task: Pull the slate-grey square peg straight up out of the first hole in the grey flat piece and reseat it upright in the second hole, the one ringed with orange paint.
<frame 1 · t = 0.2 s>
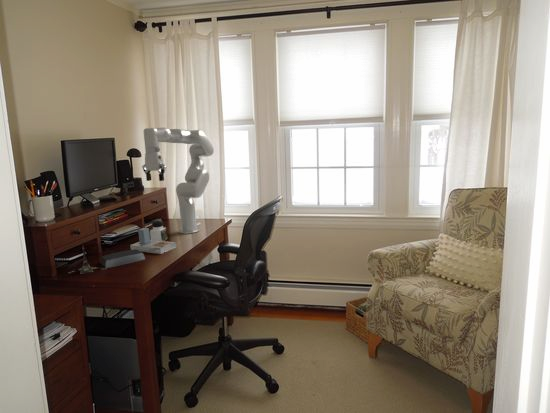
hand: (155, 180, 229), 36 cm above the table, tool pointing down, fingers open, 9 cm apart
peg: (145, 248, 224), resting in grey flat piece
eiffel tower figurine: (87, 272, 190), on the table
external hard drive: (123, 262, 202), on the table
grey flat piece: (153, 248, 221), on the table
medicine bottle: (159, 240, 239), on the table
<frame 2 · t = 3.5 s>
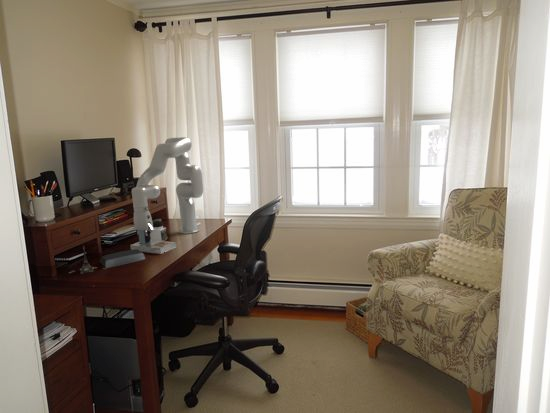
hand: (144, 241, 223), 4 cm above the table, tool pointing down, fingers closed on peg, 4 cm apart
peg: (145, 248, 224), resting in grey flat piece, touching gripper
everything else where it was.
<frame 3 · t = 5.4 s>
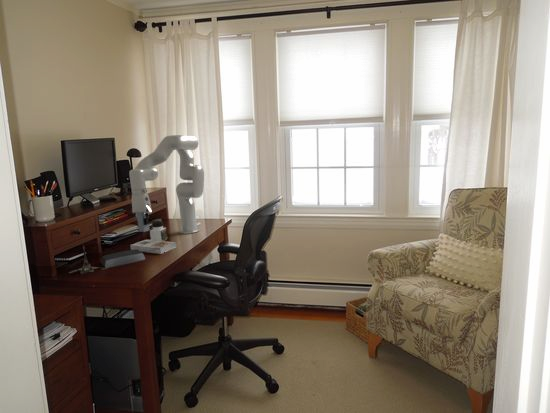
hand: (143, 224, 222), 14 cm above the table, tool pointing down, fingers closed on peg, 4 cm apart
peg: (144, 230, 223), point 10 cm above the table, touching gripper
everything else where it was.
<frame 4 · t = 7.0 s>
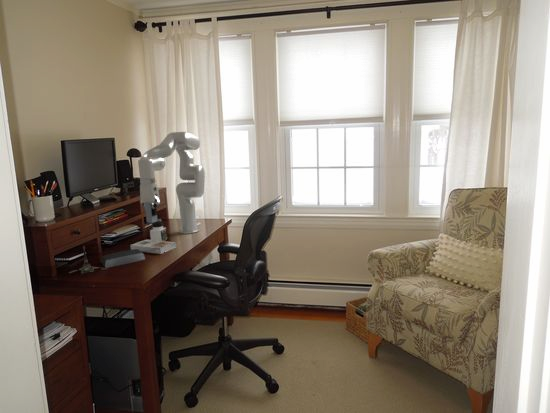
hand: (151, 214, 217), 19 cm above the table, tool pointing down, fingers closed on peg, 4 cm apart
peg: (152, 221, 218), point 16 cm above the table, touching gripper
everything else where it was.
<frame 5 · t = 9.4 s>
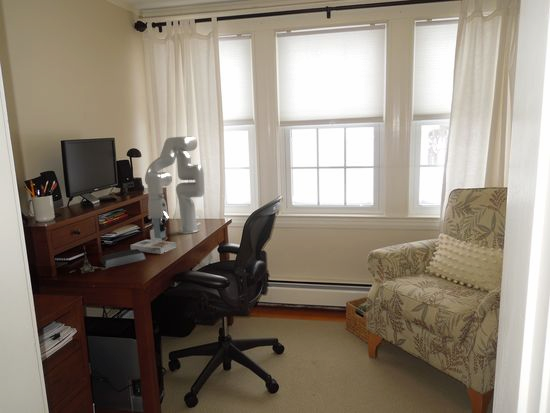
hand: (159, 230, 216), 11 cm above the table, tool pointing down, fingers closed on peg, 4 cm apart
peg: (160, 237, 217), point 7 cm above the table, touching gripper
everything else where it was.
when the fingers open (5 cm above the table, at t = 11.1 s): peg drops 1 cm, resting in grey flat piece.
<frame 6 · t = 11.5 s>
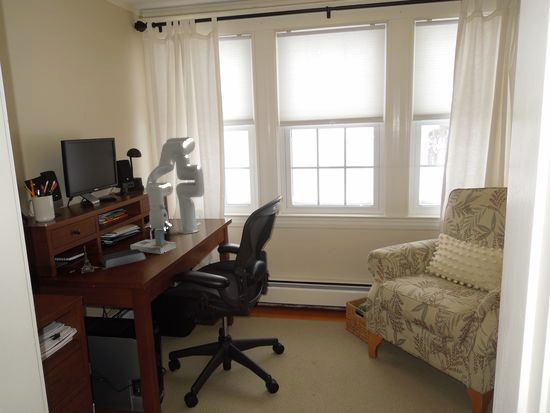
hand: (160, 239, 217), 6 cm above the table, tool pointing down, fingers open, 8 cm apart
peg: (161, 249, 219), resting in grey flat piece
everything else where it was.
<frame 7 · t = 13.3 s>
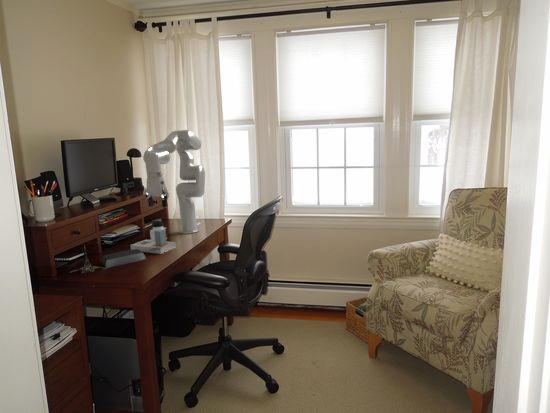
hand: (158, 206, 217), 23 cm above the table, tool pointing down, fingers open, 9 cm apart
nothing on the table moved.
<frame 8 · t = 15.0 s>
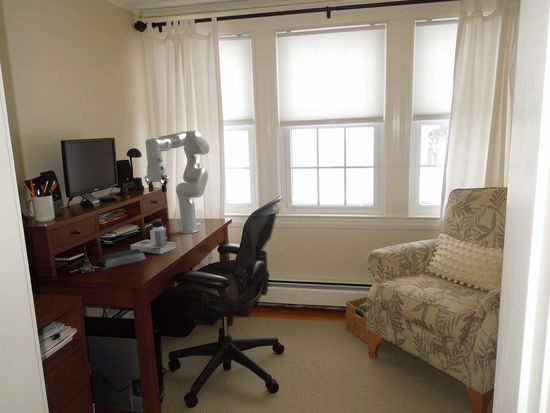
hand: (157, 191, 225), 30 cm above the table, tool pointing down, fingers open, 9 cm apart
at the end: peg 0.1 cm from the target spot on the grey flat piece, point 0.0 cm above the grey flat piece's base; peg tilted 0°; the gripper is holding nothing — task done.
